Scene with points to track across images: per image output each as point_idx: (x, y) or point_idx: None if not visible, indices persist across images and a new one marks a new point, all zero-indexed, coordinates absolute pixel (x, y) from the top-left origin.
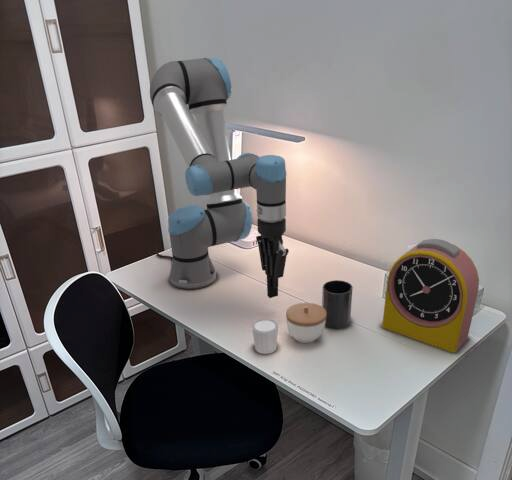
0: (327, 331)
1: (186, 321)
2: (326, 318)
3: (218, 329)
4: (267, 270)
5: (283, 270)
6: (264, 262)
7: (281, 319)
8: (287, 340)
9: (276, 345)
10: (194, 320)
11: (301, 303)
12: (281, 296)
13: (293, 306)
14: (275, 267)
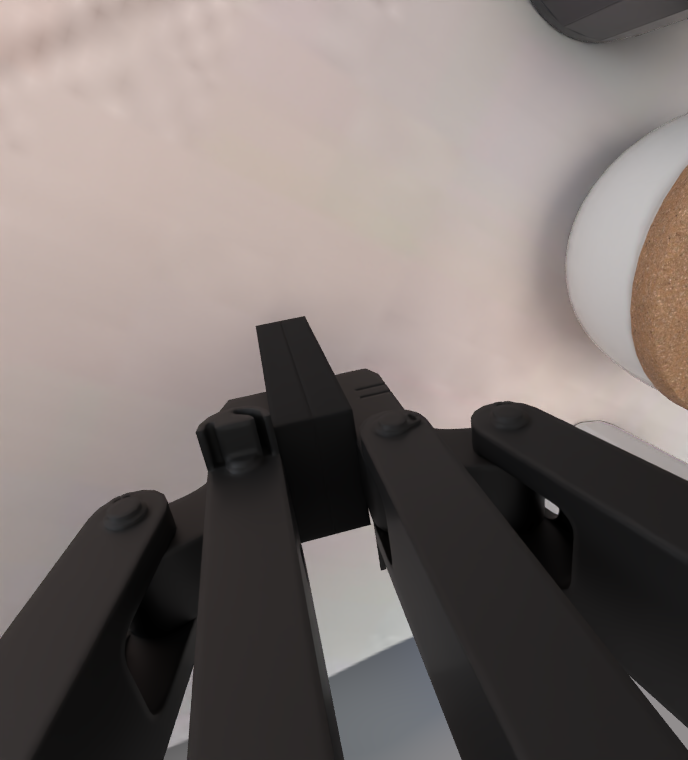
0: (668, 67)
1: (186, 730)
2: (681, 19)
3: (323, 620)
4: (313, 603)
5: (647, 475)
6: (162, 713)
7: (385, 296)
8: (592, 350)
9: (631, 434)
10: (190, 703)
11: (686, 241)
12: (35, 144)
13: (680, 332)
14: (656, 675)
